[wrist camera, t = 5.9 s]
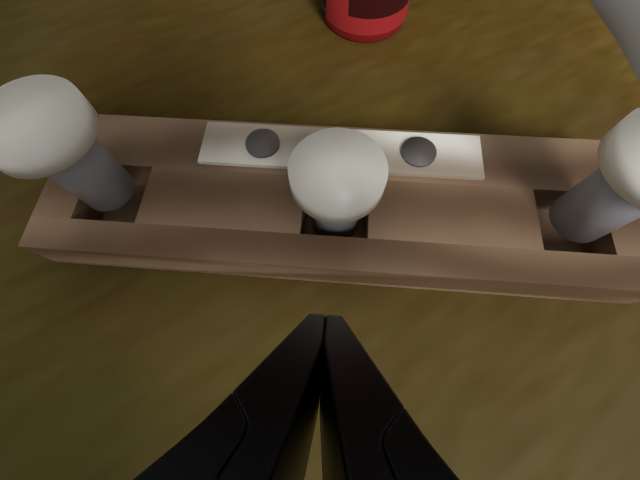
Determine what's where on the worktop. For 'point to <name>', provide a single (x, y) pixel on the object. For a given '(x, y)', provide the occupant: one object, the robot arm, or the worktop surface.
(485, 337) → the worktop surface
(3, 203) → the worktop surface
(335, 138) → the middle button
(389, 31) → the canned food
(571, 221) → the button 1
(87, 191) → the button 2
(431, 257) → the console
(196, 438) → the robot arm
